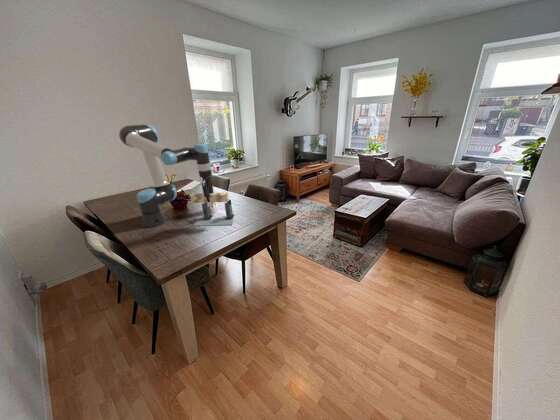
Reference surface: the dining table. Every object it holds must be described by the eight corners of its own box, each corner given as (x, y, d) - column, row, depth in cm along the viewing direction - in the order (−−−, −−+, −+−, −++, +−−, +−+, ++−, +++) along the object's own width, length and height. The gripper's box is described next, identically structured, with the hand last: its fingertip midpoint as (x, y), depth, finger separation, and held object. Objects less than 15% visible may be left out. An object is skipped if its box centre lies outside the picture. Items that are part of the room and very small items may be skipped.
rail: (191, 203, 145) (189, 195, 143) (193, 200, 148) (192, 193, 146) (227, 201, 144) (226, 194, 142) (229, 199, 147) (228, 192, 146)
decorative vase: (214, 214, 166) (209, 182, 156) (201, 214, 168) (195, 182, 158) (221, 209, 176) (216, 178, 166) (208, 208, 178) (203, 178, 168)
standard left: (203, 220, 158) (199, 204, 153) (206, 216, 164) (203, 200, 159) (210, 220, 158) (207, 203, 153) (212, 215, 164) (210, 200, 159)
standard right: (225, 219, 157) (222, 203, 152) (227, 215, 164) (225, 199, 159) (232, 219, 157) (230, 203, 152) (234, 215, 164) (232, 199, 159)
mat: (193, 226, 150) (193, 225, 149) (197, 221, 156) (197, 221, 156) (231, 225, 149) (231, 224, 149) (233, 220, 155) (233, 219, 155)
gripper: (206, 173, 130) (212, 209, 139) (214, 166, 146) (219, 200, 155) (193, 173, 130) (201, 210, 139) (203, 167, 146) (209, 200, 155)
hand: (210, 204), depth 147 cm, fingers closed on rail, 4 cm apart
